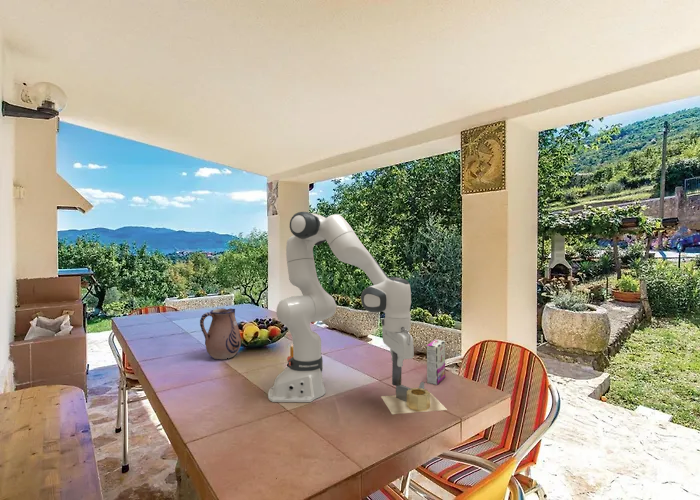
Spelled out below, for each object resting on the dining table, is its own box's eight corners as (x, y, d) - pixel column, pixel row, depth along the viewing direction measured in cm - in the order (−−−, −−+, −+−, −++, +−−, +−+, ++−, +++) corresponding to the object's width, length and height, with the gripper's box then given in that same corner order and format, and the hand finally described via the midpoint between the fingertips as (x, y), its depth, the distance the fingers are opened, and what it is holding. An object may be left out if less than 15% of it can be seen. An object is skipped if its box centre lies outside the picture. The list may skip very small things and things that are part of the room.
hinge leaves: (406, 412, 126) (406, 397, 126) (395, 396, 139) (395, 383, 138) (437, 409, 128) (437, 395, 128) (423, 394, 140) (423, 381, 140)
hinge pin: (392, 385, 126) (393, 354, 126) (391, 382, 129) (392, 351, 129) (401, 385, 126) (402, 354, 126) (400, 382, 129) (401, 351, 129)
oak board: (392, 418, 124) (392, 414, 124) (380, 400, 139) (380, 396, 139) (447, 414, 128) (447, 409, 128) (430, 396, 142) (430, 392, 142)
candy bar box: (434, 375, 166) (434, 339, 166) (445, 377, 163) (445, 340, 163) (426, 383, 156) (426, 344, 156) (437, 385, 154) (437, 346, 153)
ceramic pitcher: (248, 355, 195) (247, 308, 195) (214, 366, 178) (214, 315, 177) (226, 350, 205) (226, 306, 205) (192, 360, 187) (192, 311, 187)
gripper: (419, 331, 118) (418, 373, 118) (395, 317, 138) (394, 354, 138) (400, 332, 116) (399, 375, 117) (379, 318, 136) (379, 355, 137)
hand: (397, 363), depth 128 cm, fingers closed on hinge pin, 3 cm apart
